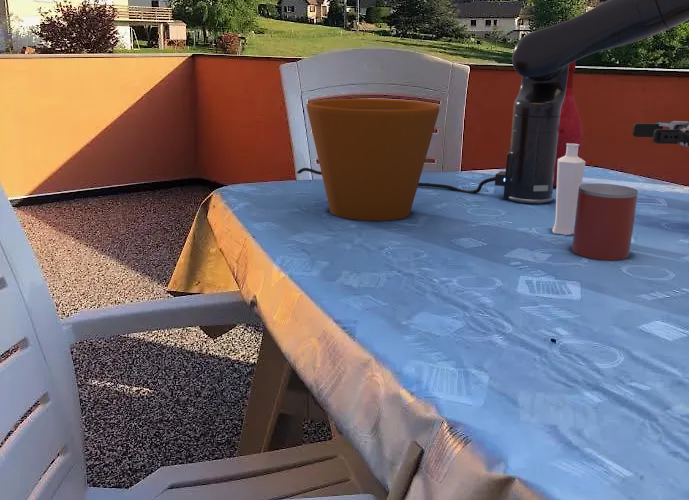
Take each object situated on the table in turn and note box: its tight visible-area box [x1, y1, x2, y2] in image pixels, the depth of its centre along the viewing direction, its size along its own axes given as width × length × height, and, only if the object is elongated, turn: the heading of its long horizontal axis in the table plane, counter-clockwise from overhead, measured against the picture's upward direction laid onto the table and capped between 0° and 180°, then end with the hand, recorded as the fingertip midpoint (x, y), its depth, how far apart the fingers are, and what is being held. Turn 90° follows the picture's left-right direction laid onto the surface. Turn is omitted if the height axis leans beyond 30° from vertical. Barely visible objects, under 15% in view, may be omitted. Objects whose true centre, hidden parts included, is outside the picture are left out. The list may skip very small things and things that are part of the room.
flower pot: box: [306, 98, 440, 222], centre depth 130 cm, size 24×24×20 cm
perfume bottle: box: [552, 143, 586, 236], centre depth 119 cm, size 5×4×15 cm
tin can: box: [571, 183, 639, 261], centre depth 108 cm, size 8×8×10 cm
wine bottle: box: [553, 60, 584, 188], centre depth 159 cm, size 10×10×30 cm
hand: (643, 133), depth 116 cm, fingers open, 8 cm apart
